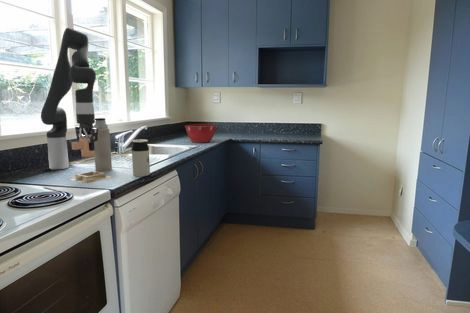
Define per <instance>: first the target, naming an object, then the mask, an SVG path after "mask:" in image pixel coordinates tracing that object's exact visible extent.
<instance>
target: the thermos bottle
mask: <svg viewBox="0 0 470 313" xmlns="http://www.w3.org/2000/svg"><path fill="white" fill-rule="evenodd" d="M93 127H94V128H98V140H97V141H95V142H94V147H95V156H94V165H95V166H94V168H95V171H96V172H108V171H112V169H113V163H112V150H111V147H112V146H111V134H110V128H108V127H109V125H108V124H107V121H106V118H104V117H98V118H95V123H94V124H93ZM94 139H95V136H94Z"/></svg>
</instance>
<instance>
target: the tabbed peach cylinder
mask: <svg viewBox="0 0 470 313" xmlns="http://www.w3.org/2000/svg"><path fill="white" fill-rule="evenodd" d="M79 137H80V136H79ZM90 139H91V137H90ZM71 150H75V151H77V150H80V152H81V158H91V157H95V150H94V151H90V150H89V141H88V138H86V136H83V137H80V141H79V140H78V141H71Z"/></svg>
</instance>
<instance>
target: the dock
mask: <svg viewBox="0 0 470 313" xmlns="http://www.w3.org/2000/svg"><path fill="white" fill-rule="evenodd" d="M106 174H107V173H105V172H103V171H96V170H92V171H86V172H82V173H77V174H75V177H73V178H68V180H70V181H74V182H77V183H83V184H90V183H93V182H94V183H95V182H97V181H102V180H107V179H111V178H113V176H110V175H106Z"/></svg>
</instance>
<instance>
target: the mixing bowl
mask: <svg viewBox="0 0 470 313" xmlns="http://www.w3.org/2000/svg"><path fill="white" fill-rule="evenodd" d="M184 128H185V130H186V133H187V137H188V138H189V140H190V141H191V142H193V143H194V142H196V143H195V144H206V142H207V143H209V142H210V141H212V140H213V138H214V136H215V132H216V129H217V124H213V123H211V124H210V123H204V124H203V123H201V124H200V123H197V124H194V123H193V124H185V125H184Z"/></svg>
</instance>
